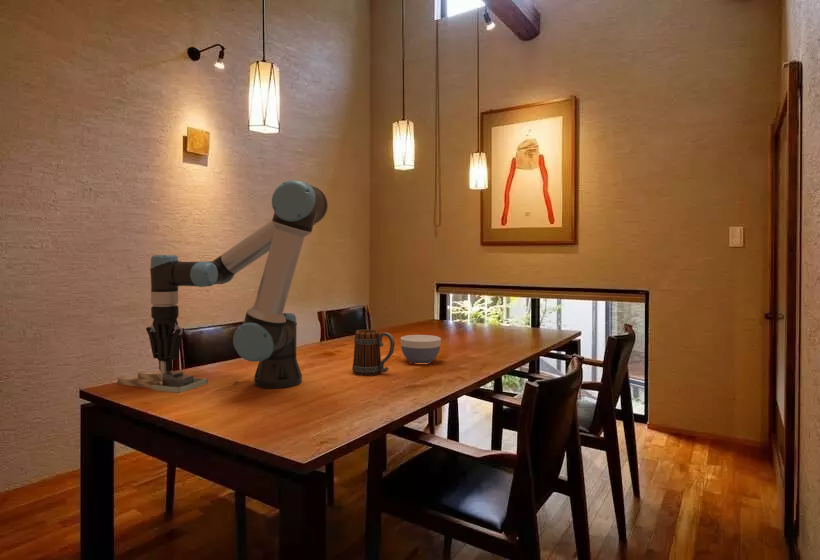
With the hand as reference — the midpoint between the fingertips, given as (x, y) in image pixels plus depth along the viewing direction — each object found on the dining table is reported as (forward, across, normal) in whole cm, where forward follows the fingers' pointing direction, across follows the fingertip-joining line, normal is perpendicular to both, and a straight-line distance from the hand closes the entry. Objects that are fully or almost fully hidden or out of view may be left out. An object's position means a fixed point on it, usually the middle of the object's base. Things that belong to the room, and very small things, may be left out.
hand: (166, 381), depth 154 cm
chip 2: (+2, -7, 0) cm, 7 cm away
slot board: (+3, +7, 0) cm, 7 cm away
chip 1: (+1, -3, 0) cm, 3 cm away
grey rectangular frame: (+3, -6, 0) cm, 6 cm away
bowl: (+3, -62, -66) cm, 90 cm away
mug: (+3, -52, -42) cm, 67 cm away
